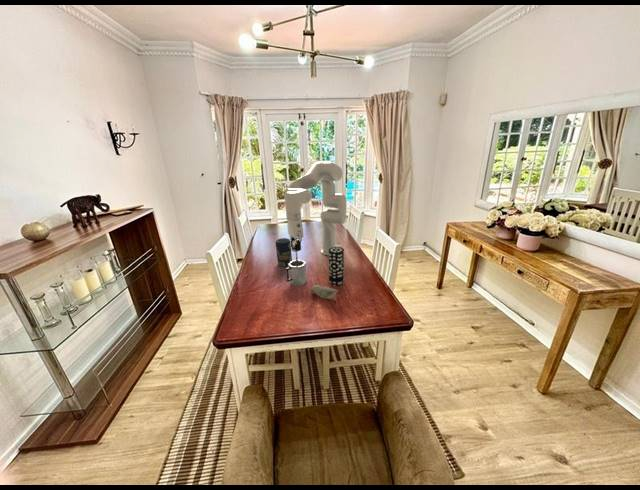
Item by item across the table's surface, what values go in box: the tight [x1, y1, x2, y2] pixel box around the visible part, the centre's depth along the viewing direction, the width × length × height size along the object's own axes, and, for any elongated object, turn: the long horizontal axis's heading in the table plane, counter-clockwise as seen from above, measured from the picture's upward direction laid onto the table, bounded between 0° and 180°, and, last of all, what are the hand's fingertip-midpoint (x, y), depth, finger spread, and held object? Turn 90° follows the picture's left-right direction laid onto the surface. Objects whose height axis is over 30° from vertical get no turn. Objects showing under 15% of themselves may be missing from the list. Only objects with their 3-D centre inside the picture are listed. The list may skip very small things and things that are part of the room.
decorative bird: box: [311, 284, 340, 304], centre depth 126 cm, size 5×16×7 cm, turn 54°
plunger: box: [291, 240, 302, 267], centre depth 136 cm, size 6×6×16 cm
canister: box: [275, 237, 293, 267], centre depth 162 cm, size 10×10×18 cm
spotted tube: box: [328, 247, 345, 287], centre depth 138 cm, size 8×8×20 cm
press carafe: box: [285, 259, 307, 287], centre depth 140 cm, size 11×9×12 cm
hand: (296, 248), depth 135 cm, fingers closed on plunger, 4 cm apart
